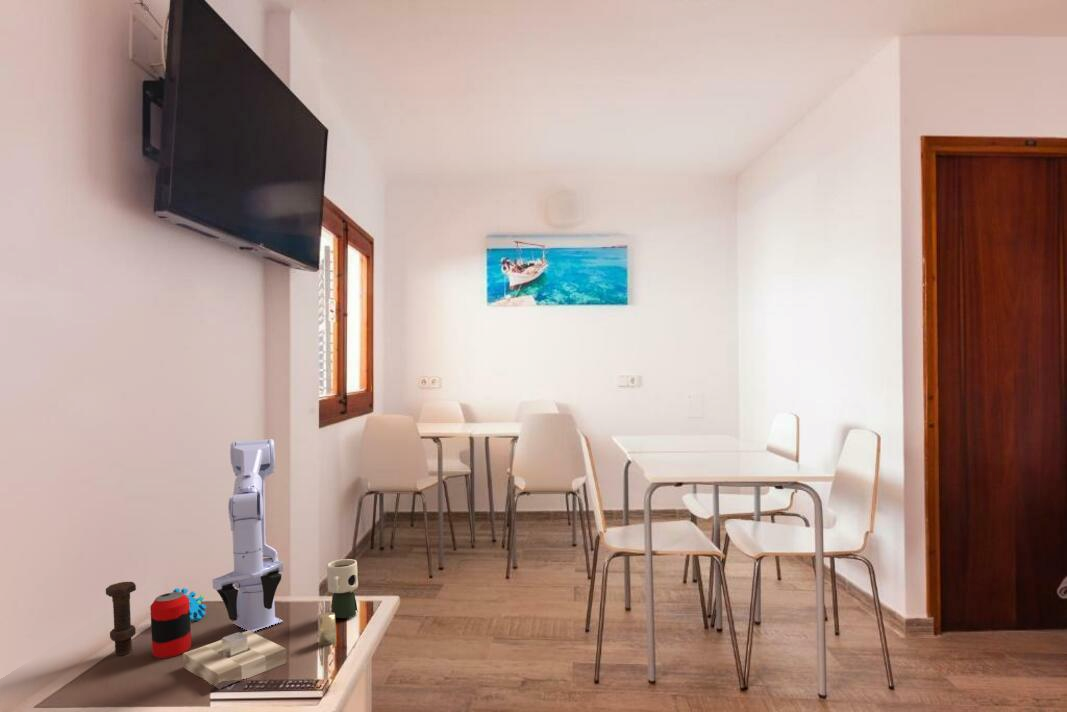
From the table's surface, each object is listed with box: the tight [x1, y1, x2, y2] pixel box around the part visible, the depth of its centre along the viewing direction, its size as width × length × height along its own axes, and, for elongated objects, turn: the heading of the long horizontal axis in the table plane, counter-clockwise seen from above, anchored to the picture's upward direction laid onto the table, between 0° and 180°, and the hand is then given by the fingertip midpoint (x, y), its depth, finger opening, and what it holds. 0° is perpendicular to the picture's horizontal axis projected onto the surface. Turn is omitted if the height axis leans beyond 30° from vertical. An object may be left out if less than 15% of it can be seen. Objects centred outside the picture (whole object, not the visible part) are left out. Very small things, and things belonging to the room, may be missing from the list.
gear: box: [170, 587, 207, 623], centre depth 169 cm, size 11×6×10 cm
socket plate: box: [182, 630, 287, 686], centre depth 141 cm, size 16×14×3 cm
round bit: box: [317, 611, 337, 647], centre depth 151 cm, size 4×4×6 cm
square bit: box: [221, 631, 248, 658], centre depth 141 cm, size 4×4×6 cm
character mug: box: [326, 558, 359, 620], centre depth 166 cm, size 11×7×13 cm, turn 177°
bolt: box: [105, 581, 137, 656], centre depth 150 cm, size 6×5×15 cm
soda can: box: [149, 591, 192, 659], centre depth 150 cm, size 8×8×12 cm
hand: (250, 613), depth 145 cm, fingers open, 7 cm apart
